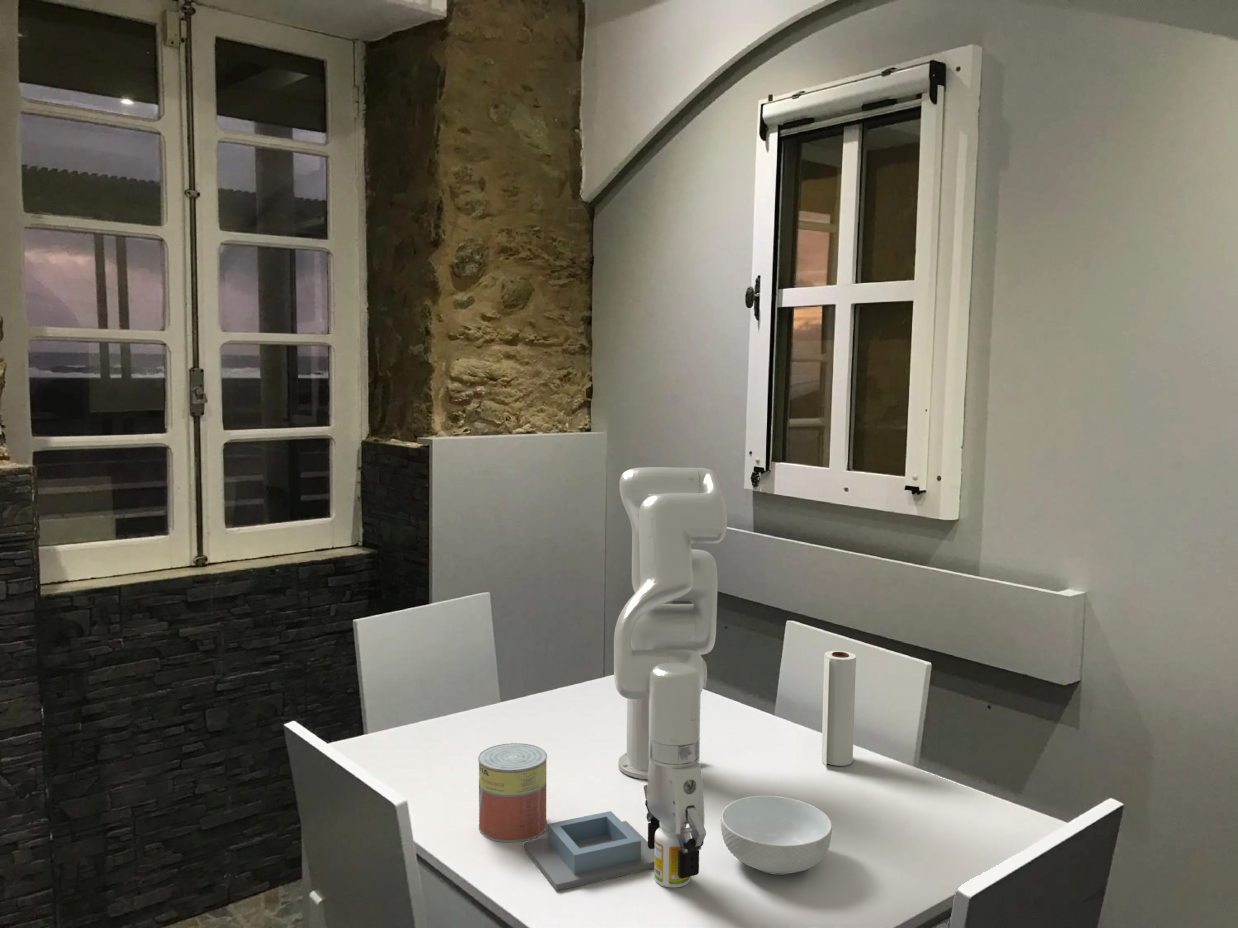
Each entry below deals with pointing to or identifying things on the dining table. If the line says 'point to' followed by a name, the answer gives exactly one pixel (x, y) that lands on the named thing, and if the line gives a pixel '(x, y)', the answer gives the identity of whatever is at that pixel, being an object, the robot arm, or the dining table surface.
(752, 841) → the cereal bowl
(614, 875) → the caddy
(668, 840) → the supplement bottle
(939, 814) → the dining table surface
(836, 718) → the paper towel roll
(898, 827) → the dining table surface
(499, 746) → the canned food
